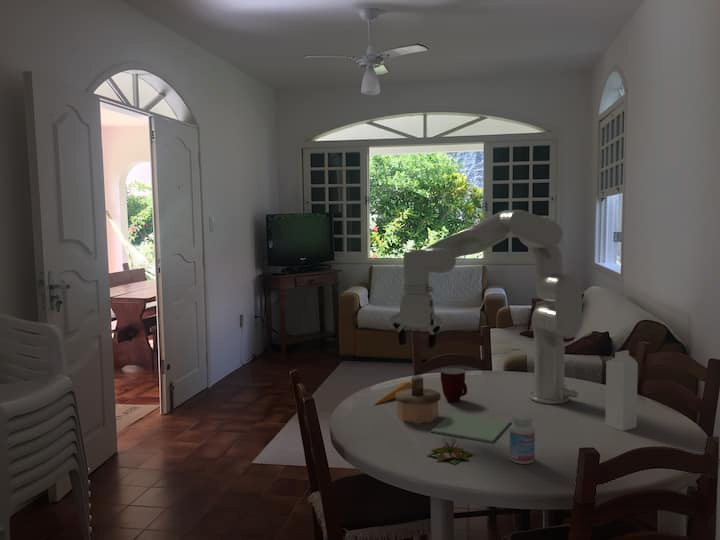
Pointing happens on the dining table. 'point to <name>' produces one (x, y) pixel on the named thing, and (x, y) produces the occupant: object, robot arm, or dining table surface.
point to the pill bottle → (522, 439)
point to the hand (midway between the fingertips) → (417, 345)
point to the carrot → (392, 394)
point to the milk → (621, 391)
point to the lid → (417, 394)
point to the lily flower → (450, 450)
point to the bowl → (417, 412)
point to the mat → (472, 427)
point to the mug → (453, 384)
